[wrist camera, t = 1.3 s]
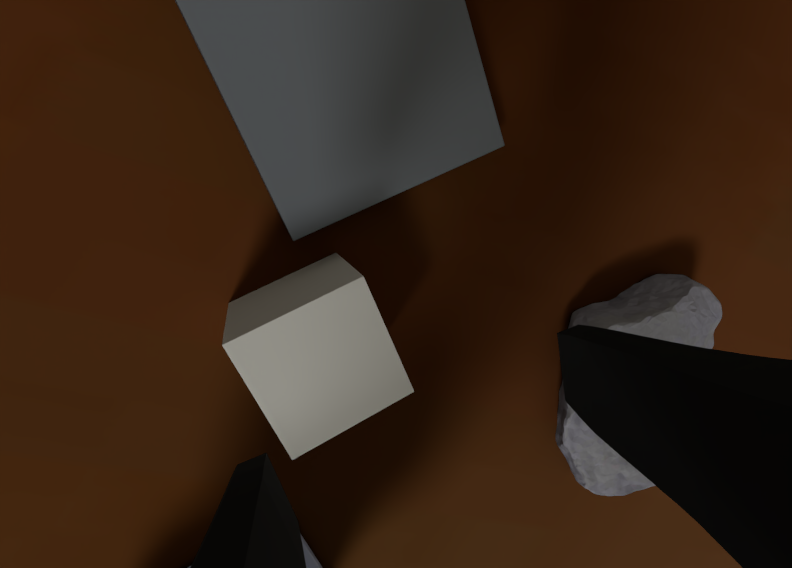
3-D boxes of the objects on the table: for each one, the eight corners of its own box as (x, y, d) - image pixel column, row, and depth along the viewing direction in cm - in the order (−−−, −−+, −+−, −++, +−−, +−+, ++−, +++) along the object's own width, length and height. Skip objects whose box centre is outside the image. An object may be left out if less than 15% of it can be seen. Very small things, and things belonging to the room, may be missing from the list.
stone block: (545, 465, 29) (681, 423, 29) (583, 521, 24) (744, 470, 25) (516, 305, 26) (670, 261, 26) (554, 335, 21) (740, 281, 22)
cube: (281, 394, 20) (292, 460, 15) (228, 302, 18) (222, 345, 13) (377, 343, 21) (414, 391, 16) (335, 252, 19) (363, 276, 14)
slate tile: (289, 236, 18) (293, 240, 17) (161, -28, 15) (151, -49, 13) (486, 147, 20) (504, 145, 19) (414, -104, 17) (429, -130, 15)
